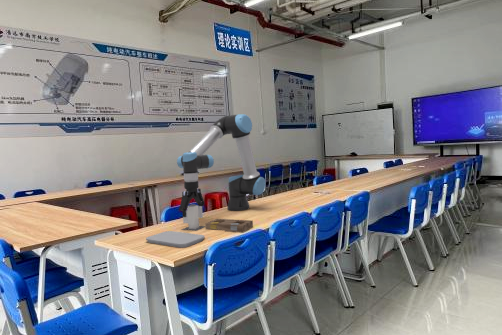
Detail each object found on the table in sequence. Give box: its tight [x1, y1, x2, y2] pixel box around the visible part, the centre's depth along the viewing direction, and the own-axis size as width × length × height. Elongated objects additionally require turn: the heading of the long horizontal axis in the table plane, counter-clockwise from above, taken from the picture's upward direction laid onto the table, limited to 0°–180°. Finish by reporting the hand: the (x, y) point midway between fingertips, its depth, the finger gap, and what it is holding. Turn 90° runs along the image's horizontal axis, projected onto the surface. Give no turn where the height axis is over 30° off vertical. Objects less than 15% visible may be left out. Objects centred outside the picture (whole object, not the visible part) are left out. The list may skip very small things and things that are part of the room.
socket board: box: [204, 218, 254, 233], centre depth 186 cm, size 12×22×4 cm, turn 65°
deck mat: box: [180, 225, 205, 232], centre depth 190 cm, size 10×10×1 cm
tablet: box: [145, 230, 205, 249], centre depth 167 cm, size 16×26×2 cm, turn 57°
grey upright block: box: [187, 203, 200, 229], centre depth 189 cm, size 4×4×13 cm
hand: (193, 220), depth 189 cm, fingers open, 13 cm apart
